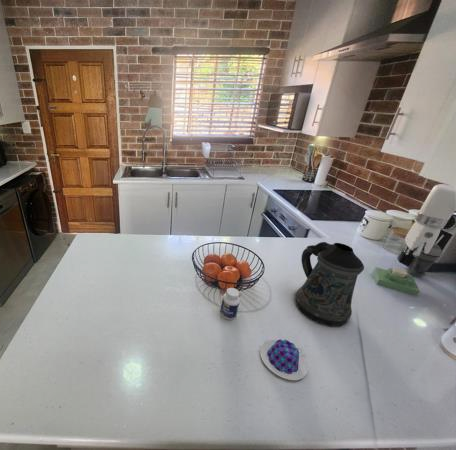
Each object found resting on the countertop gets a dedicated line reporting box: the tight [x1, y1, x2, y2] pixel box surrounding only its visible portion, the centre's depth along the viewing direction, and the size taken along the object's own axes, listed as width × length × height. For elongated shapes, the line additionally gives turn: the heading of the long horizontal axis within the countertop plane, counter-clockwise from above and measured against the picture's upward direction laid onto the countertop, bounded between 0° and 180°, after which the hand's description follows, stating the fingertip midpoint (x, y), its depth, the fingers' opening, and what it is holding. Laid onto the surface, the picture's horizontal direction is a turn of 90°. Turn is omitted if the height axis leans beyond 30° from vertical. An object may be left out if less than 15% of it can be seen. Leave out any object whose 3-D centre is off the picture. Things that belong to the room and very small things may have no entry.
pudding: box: [259, 339, 308, 381], centre depth 68 cm, size 12×12×5 cm
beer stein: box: [294, 241, 365, 327], centre depth 82 cm, size 16×19×25 cm
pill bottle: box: [219, 287, 241, 321], centre depth 81 cm, size 5×5×10 cm
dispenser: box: [371, 266, 421, 297], centre depth 98 cm, size 12×10×6 cm
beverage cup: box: [406, 234, 445, 279], centre depth 103 cm, size 7×7×20 cm
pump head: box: [392, 267, 408, 278], centre depth 97 cm, size 4×4×2 cm
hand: (403, 262), depth 95 cm, fingers closed
